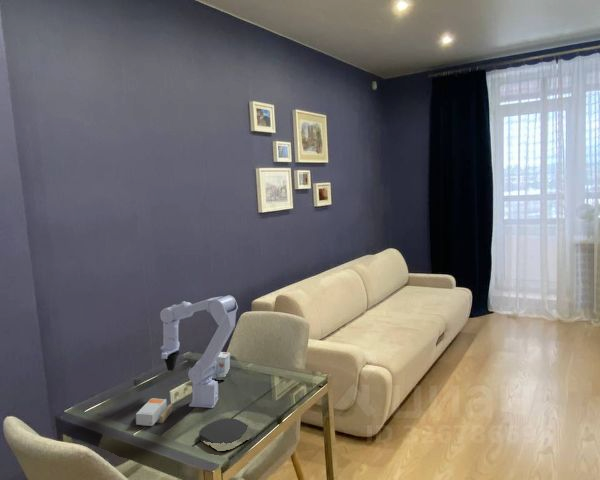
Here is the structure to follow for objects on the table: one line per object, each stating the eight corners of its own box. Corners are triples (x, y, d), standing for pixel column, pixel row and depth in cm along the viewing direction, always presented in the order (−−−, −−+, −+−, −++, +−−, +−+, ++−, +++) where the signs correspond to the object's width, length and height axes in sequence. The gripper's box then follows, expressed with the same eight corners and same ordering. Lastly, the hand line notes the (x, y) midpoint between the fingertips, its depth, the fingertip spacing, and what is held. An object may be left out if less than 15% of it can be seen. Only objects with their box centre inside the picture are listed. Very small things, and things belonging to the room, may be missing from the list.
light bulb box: (201, 379, 191) (201, 355, 190) (207, 373, 198) (207, 350, 197) (225, 381, 190) (225, 357, 188) (230, 375, 196) (230, 352, 195)
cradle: (172, 410, 163) (172, 404, 163) (162, 423, 154) (162, 416, 154) (146, 409, 164) (146, 402, 164) (135, 421, 155) (135, 414, 155)
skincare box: (166, 398, 163) (152, 414, 151) (166, 409, 163) (152, 426, 151) (151, 397, 163) (135, 413, 152) (151, 408, 164) (135, 425, 152)
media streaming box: (256, 437, 146) (257, 428, 146) (222, 456, 136) (222, 447, 135) (228, 421, 156) (228, 413, 156) (194, 438, 145) (194, 429, 145)
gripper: (167, 330, 181) (168, 362, 182) (153, 342, 167) (153, 376, 168) (184, 331, 180) (184, 363, 182) (171, 343, 166) (171, 377, 167)
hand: (170, 369), depth 175 cm, fingers closed
